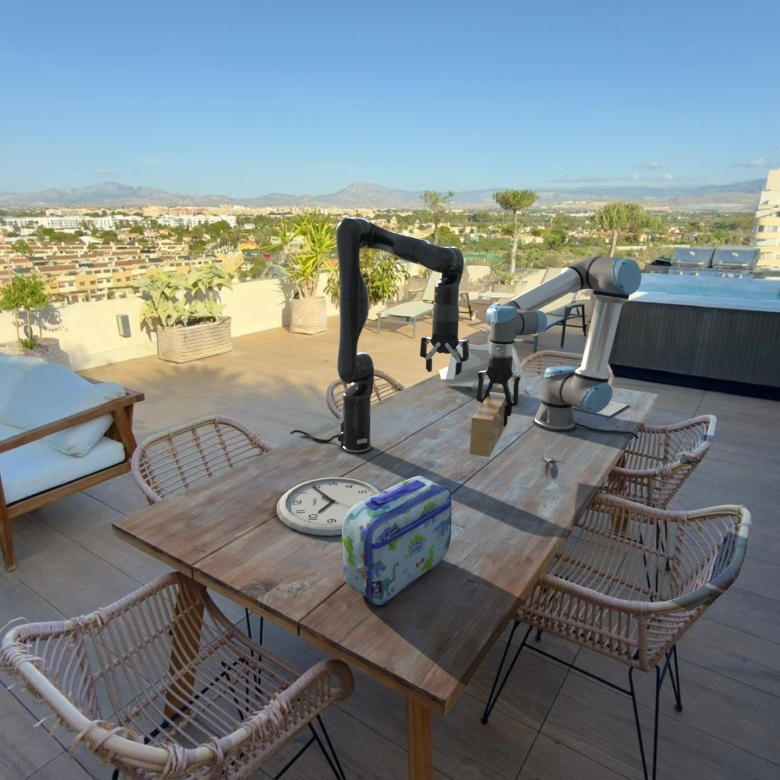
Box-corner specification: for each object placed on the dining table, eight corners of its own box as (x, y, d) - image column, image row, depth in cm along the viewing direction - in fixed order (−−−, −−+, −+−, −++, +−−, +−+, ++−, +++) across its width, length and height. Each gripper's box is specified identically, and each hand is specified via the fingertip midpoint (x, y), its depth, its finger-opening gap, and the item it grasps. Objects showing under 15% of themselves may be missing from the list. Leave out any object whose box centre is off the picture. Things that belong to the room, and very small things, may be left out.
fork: (541, 474, 162) (542, 468, 162) (545, 454, 177) (545, 449, 176) (550, 476, 162) (550, 470, 161) (553, 456, 176) (553, 450, 175)
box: (488, 424, 177) (490, 391, 174) (505, 426, 175) (508, 394, 172) (469, 454, 154) (471, 417, 150) (489, 457, 151) (492, 420, 148)
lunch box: (371, 618, 102) (371, 524, 95) (336, 591, 109) (334, 502, 103) (455, 562, 119) (460, 479, 113) (420, 542, 126) (423, 463, 120)
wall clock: (392, 527, 129) (268, 531, 127) (391, 533, 130) (269, 537, 127) (383, 473, 158) (282, 475, 155) (383, 478, 158) (282, 480, 156)
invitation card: (608, 416, 214) (573, 407, 224) (608, 416, 214) (573, 408, 224) (628, 404, 229) (594, 396, 238) (628, 405, 229) (594, 397, 238)
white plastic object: (461, 429, 252) (437, 405, 227) (444, 352, 274) (420, 323, 250) (535, 404, 240) (518, 377, 215) (510, 326, 262) (492, 293, 237)
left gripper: (417, 318, 150) (416, 373, 154) (466, 322, 145) (463, 378, 149) (426, 315, 156) (424, 367, 161) (472, 318, 151) (470, 372, 156)
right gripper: (468, 354, 166) (464, 422, 173) (529, 361, 159) (522, 431, 166) (474, 349, 172) (469, 415, 179) (532, 355, 166) (526, 423, 173)
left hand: (443, 372), depth 155 cm, fingers open, 8 cm apart
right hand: (495, 423), depth 173 cm, fingers closed on box, 6 cm apart
